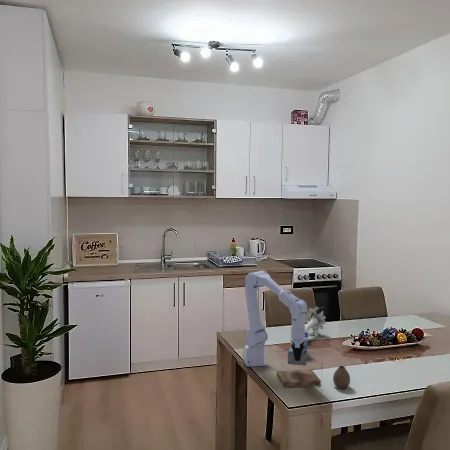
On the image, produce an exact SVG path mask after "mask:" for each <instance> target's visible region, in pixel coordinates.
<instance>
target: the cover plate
mask: <svg viewBox="0 0 450 450" xmlns="http://www.w3.org/2000/svg"><path fill="white" fill-rule="evenodd" d="M288 350H289V353H293V350H292V349H291V348H290V347H289V349H288ZM301 354H305V350H302V353H301Z"/></svg>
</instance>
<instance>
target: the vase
mask: <svg viewBox="0 0 450 450" xmlns="http://www.w3.org/2000/svg"><path fill="white" fill-rule="evenodd" d="M332 381H333V384H334V386H335V388H337V389H339V390H345V389H347V388H348V387H349V386H350V384H351V375H350V373H349V372H348V371H347V369H346V367H345V366H344V365H339V366H338V368H337V369H336V370H335V371H334V373H333V377H332Z"/></svg>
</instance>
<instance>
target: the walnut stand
mask: <svg viewBox="0 0 450 450" xmlns="http://www.w3.org/2000/svg"><path fill="white" fill-rule="evenodd" d="M276 377H277V378H278V380H279V381H280V383H281V385H282V384H283V385H282V387H284V388H288V387H287V386H293V387H307V386H309V387H310V386H312V387H313V386H321V384H322V383H321V382H322V380H321V379H320V378H319V376H318V375H317V374H316V373H315V372H314V371H313V370H312V368H311V369H292V370H291V369H290V370H276Z"/></svg>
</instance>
